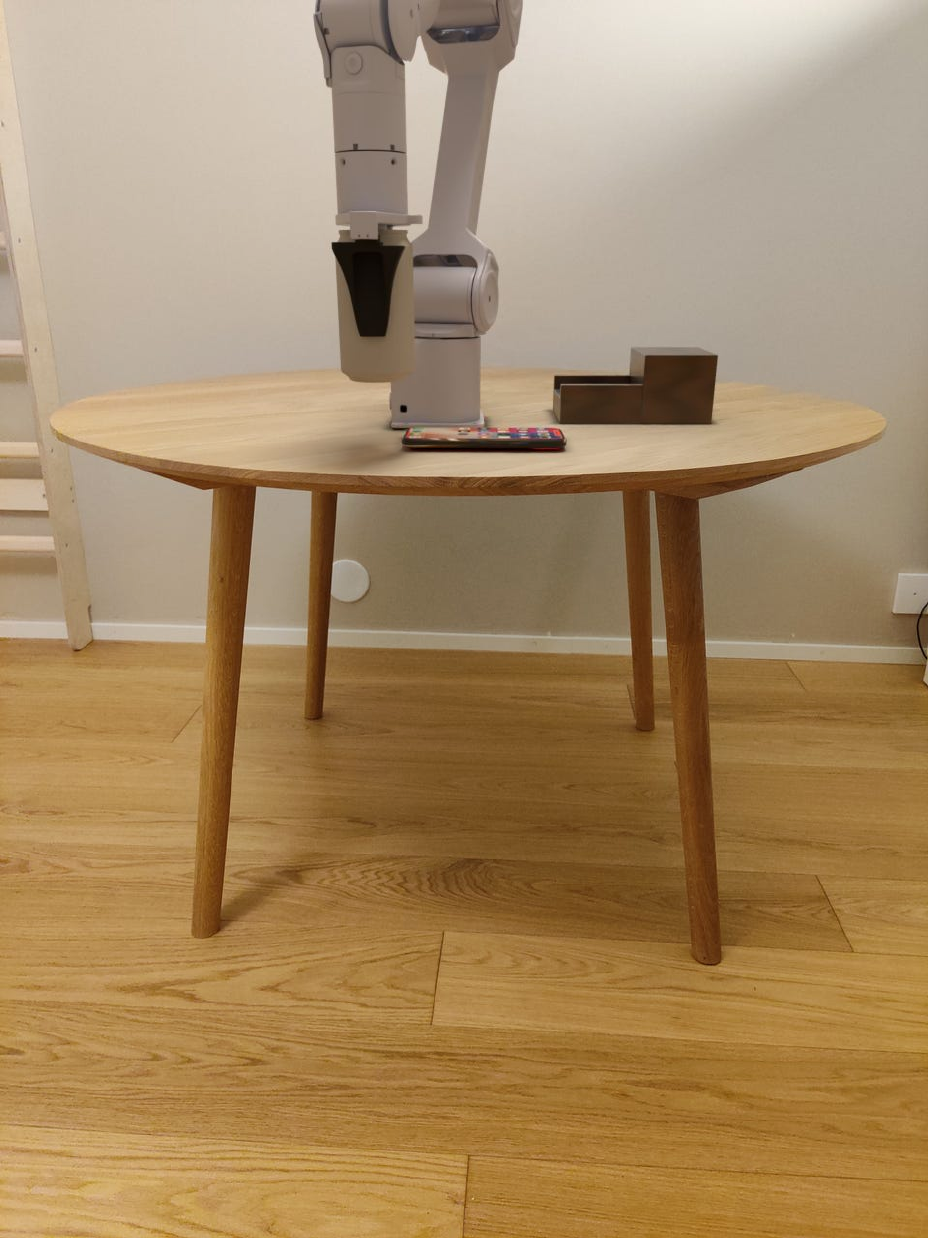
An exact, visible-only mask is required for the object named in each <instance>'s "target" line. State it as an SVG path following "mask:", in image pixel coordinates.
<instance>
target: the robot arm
mask: <svg viewBox="0 0 928 1238" xmlns="http://www.w3.org/2000/svg"><path fill="white" fill-rule="evenodd" d="M314 5H315V7H314V13H313V16H312V17H313V26H314V32H315V37H316V41H317V44H318V48H319V49H320V50H319V51H320V54H321V58H322V64H323V65H322V66H323V78H324V81H325V86H326V88H329V89H331V102H332V106H331V107H332V124H333V125H332V127H333V146H334V149H333V150H334V168H335V188H336V208H337V209H336V210H337V214H335V215H334V218H335V219H334V220H335V226H336V227H347V228H348V227H349V230H350V238H351V239H355V242H338V241H332V242H331V244H330V245H331V250H332V253H333V255H334V258H335V257H336V259H337V261H338V263H339V265H340V267H341V269H342V272H343V274H344V277H345V280H346V283H347V286H348V289H349V293H350V298H351V302H352V307H353V312H354V316H355V321H356V325H357V329H358V332H359V335H360V337H385V336H386V332H387V328H388V322H389V314H390V304H391V295H392V288H393V282H394V278H395V274H396V270H397V267H398V264H399V261H400V258H401V256H402V254H403V251H404V249H405V246H399V245H383V242H380V235H379V234H378V230H394V228H403V227H411V225H423V224H424V222H423V221H424V220H423V218H424V217H423V215H422V214H409V198H408V197H409V196H408V195H409V194H408V193H409V192H408V190H409V189H408V154H407V152H408V149H407V147H408V146H407V144H408V143H407V105H406V104H407V103H406V101H407V100H406V96H407V95H406V64H405V62H409V63H410V62H412V61H413V59H414V56H415V53H416V48H417V41H418V38H419V37H420V39H421V43H422V47H423V49H424V51H425V54H426V57H427V61H428V64H429V66H431V67H432V68H434V69H436V70H437V71H439V72H441V73H443V74H444V75H445V76H446V79H447V85H446V93H445V99H444V100H445V101H444V107H443V115H442V120H441V121H442V123H441V128H440V129H441V131H440V136H439V137H440V138H439V144H438V153H437V159H436V166H435V167H436V168H435V173H434V180H433V189H432V195H431V203H430V210H429V217H428V225H427V229H426V230H424V231H423V232H422V233H421V234H420V235H418V236H417V237H416V238H414V239H413V240H411V241H410V243H411V245H412V247H413V288H414V335H415V371H414V372H413V373H411V374H410V375H409V376H408V377H407V379H406V380H403V381H397V382H390V392H389V397H388V399H389V410H390V411H391V423H390V427H391V428H393V429H409V428H414V427H485V415H484V414H485V413H484V412H483V411H481V373H482V372H481V369H482V367H481V363H482V360H481V359H482V357H481V356H482V354H481V353H482V349H481V348H482V337H481V336H484V335H486V334H487V332H489V331H490V329H491V327H492V326H494V324H495V322H496V319H497V315H498V311H499V294H500V293H499V272H500V270H499V269H500V268H499V264H498V262H497V258H496V256H495V254H494V252H493V250H492V249H491V248H490V247H489V246H488V245H486V244H485V243H484V242H483V241H482V240H480V239H479V238H478V237H477V230H478V224H479V214H480V208H481V200H482V195H483V194H482V193H483V186H484V178H485V170H486V163H487V157H488V148H489V141H490V134H491V127H492V120H493V119H492V118H493V111H494V104H495V99H496V92H497V86H498V82H499V77H500V72H501V71H502V70H503V69H504V68H505V67H507V66H508V65H509V64H510V63H512V62H513V61H514V60H515V58H516V50H517V46H518V43H519V37H520V29H521V24H522V23H521V22H522V15H523V7H524V0H315V4H314Z"/></svg>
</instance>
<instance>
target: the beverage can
mask: <svg viewBox="0 0 928 1238" xmlns="http://www.w3.org/2000/svg"><path fill="white" fill-rule="evenodd" d="M338 234H339V238H338V240H337V242H355V239H351V238H350V229H338ZM378 234H379V235H380V242H383V245H399V246H405V249H404V251H403V254H402V256H401V258H400V261H399V264H398V267H397V270H396V274H395V278H394V282H393V288H392V295H391V304H390V314H389V322H388V328H387V332H386V336H385V337H360V335H359V332H358V329H357V325H356V321H355V316H354V312H353V307H352V302H351V298H350V293H349V289H348V286H347V283H346V280H345V277H344V274H343V272H342V269H341V267H340V265H339V263H338V261H337V259H336V257H335V256H334V259H335V277H336V278H335V279H336V297H337V299H336V300H337V317H338V320H337V321H338V337H339V338H338V339H339V356H340V357H339V359H340V371H341V373H342V374H344V375H346V376H347V377H348V378H349V380H350V381H351V382H354V383H366V384H383V383H384V384H386V383H391V382H397V381H403V380H406V379H407V377H408V376H409V375H410V374H411V373H413V372H414V371H415V335H414V288H413V247H412V245H411V243H410V242H411V241H410V240H409V238H408V234H409V232H408V229H393V230H378Z"/></svg>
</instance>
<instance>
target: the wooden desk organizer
mask: <svg viewBox="0 0 928 1238" xmlns="http://www.w3.org/2000/svg"><path fill="white" fill-rule="evenodd" d="M718 360H719V355H718V354H716V353H713V352H711V351H708V350H705V349H703V348H700V347H699V346H631V347H630V358H629V374H554V375H553V394H552V412H553V413H554V415H555V417H556V420H557V421H558V423H559V424H561V425H563V424H564V425H565V424H567V425H569V424H573V425H574V424H575V425H576V424H578V425H579V424H581V425H583V424H586V425H587V424H588V425H591V424H592V425H594V424H595V425H597V424H599V425H602V424H603V425H605V424H606V425H611V424H613V425H616V424H617V425H620V424H621V425H631V424H632V425H634V424H635V425H640V424H641V425H711V424H712V422H713V412H714V400H715V390H716V381H717V380H716V379H717V370H718Z"/></svg>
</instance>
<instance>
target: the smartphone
mask: <svg viewBox="0 0 928 1238" xmlns="http://www.w3.org/2000/svg"><path fill="white" fill-rule="evenodd" d="M401 444H402V446H403V447H405V448H408V449H409V448H410V449H533V450H558V449H562V448H565V447H566V445H567V439H566V436H565V435H564V433H563V431H562V429H560V428H558V427H486V426H484V427H414V428H406V430H405V433H404V434H403V437H402V439H401Z"/></svg>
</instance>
